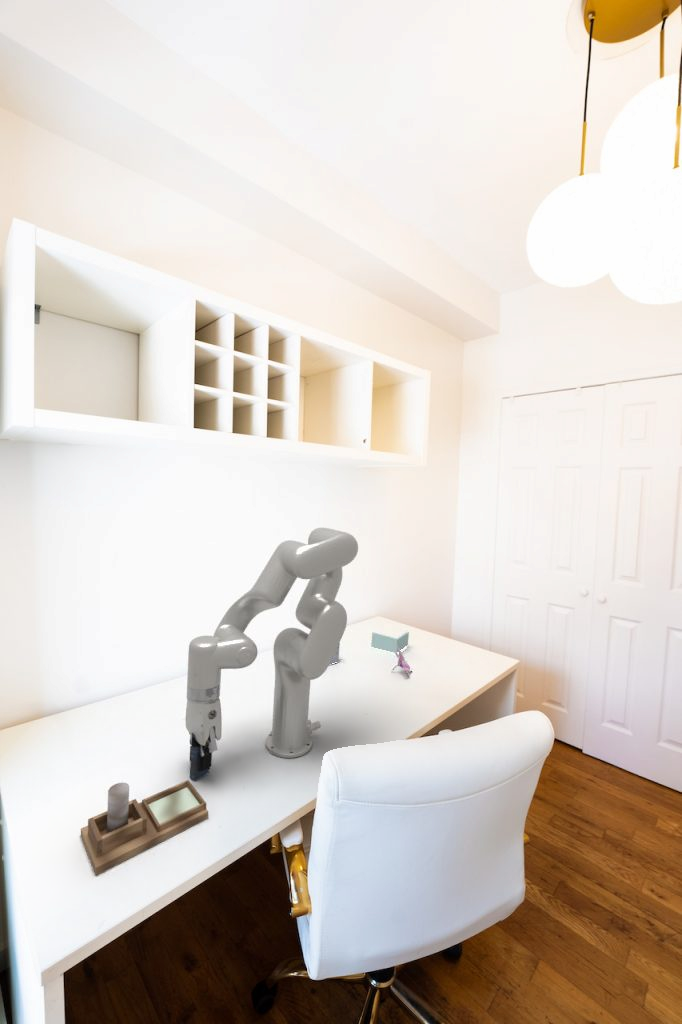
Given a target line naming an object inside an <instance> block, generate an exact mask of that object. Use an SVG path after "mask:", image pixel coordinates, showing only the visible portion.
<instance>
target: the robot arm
mask: <svg viewBox="0 0 682 1024" xmlns="http://www.w3.org/2000/svg"><path fill="white" fill-rule="evenodd" d="M358 552H359V545H358V541H357V540H356V538H355V537H354V535H352V534H351V533H349V532H346V531H341V530H336V529H333V528H329V527H317V528H314V529H313V530H312V531H311V532H310V533H309V534H308V538H307V543H304V542H301V541H296V540H292V539H291V540H285V541H283V542H281V543H280V544H278V545H277V547H276V548H275V550H274V551H273V553H272V555H271V557H270V558H269V560H268V561H267V563H266V565H265V566H264V568H263V569H262V571H261V573H260V575H259V576H258V578H257V580H256V581H255V582H254V585H253V586H252V587H251V588H250V589H249V590H248V591H247V592H245V593H244V594H242V595H241V597H240V598H238V599H237V600H236V601H235V602H234V603H232V605H231V606H230V607H229V608H228V610H227V611H226V612H225V614H224V615H223V617H222V618H221V621H220V622H219V623H218V625H217V627H216V629H215V631H214V634H213V635H200V636H196V637H194V638H193V639H192V640H191V641H190V642H189V645H188V654H187V655H188V656H187V658H188V659H187V678H186V679H187V681H186V682H187V683H186V700H187V701H186V709H185V710H186V711H185V728H186V730H187V732H188V734H189V745H190V746H189V762H190V761H191V743H192V733H193V734H194V735H195V739H196V741H197V742H198V743H199V744H200V754H199V755H198V772H201V771H203V770H206V769H208V768H210V769H211V767H212V762H213V761H212V760H213V759H212V757H213V752H216V751H218V743H217V741H220V740H222V729H223V728H222V726H223V725H222V721H223V718H222V706H221V700H220V696H221V683H222V681H221V680H222V679H221V678H222V670H227V669H228V670H230V669H232V670H234V669H235V670H237V669H243V668H247V667H249V666H251V665H252V664H253V663H254V662H255V660H256V659H257V656H258V647H257V644H256V643H255V642H254V640H252V638H251V637H249V636H248V635H247V634H245V631H246V630H247V628H248V627H249V624H250V623H251V622H252V621H253V619H254V618H256V616H258V615H259V614H261V613H263V612H265V611H268V610H271V609H275V608H279V607H280V606H282V605H283V602H284V601H285V599H286V597H287V596H288V594H289V593H290V590H291V589H292V587H293V586H294V584H295V582H296V580H297V578H298V579H301V580H309V581H308V582H307V584H306V586H305V589H304V590H303V592H302V595H301V597H300V599H299V601H298V603H297V606H296V608H295V617H296V620H297V621H298V622H299V623H300V624H301V625H302V626H304V627H306V628H307V629H309V630H310V631H309V633H307V632H306V631H304V630H302V629H299V628H297V627H288V628H285V629H282V630H281V631H280V632H279V633H278V634H277V635H276V638H275V640H274V643H273V660H274V661H273V662H274V691H273V708H272V709H273V710H272V726H271V727H272V728H271V731H270V733H268V735H267V736H266V738H265V748H266V749H267V751H268V752H269V753H271V754H272V755H274V756H276V757H279V758H283V759H284V758H285V759H287V758H288V759H292V758H293V759H294V758H298V757H301V756H304V755H305V754H307V753H308V752H310V750H311V748H312V747H313V738H312V736H311V734H312V733H313V731H317V730H319V729H320V728H321V721H320V720H316V721H315V722H312V721H311V719H309V711H310V710H309V709H310V707H309V706H310V695H311V694H310V693H311V692H310V691H311V681H312V680H313V681H314V680H316V679H318V678H320V677H322V675H323V674H324V673H325V672H326V671H327V669H328V668H329V666H330V665H329V664H330V662H331V660H332V658H333V656H334V654H335V651H336V649H337V647H338V645H339V643H340V642H341V640H342V637H344V633H345V631H346V628H347V625H348V624H347V623H348V614H347V610H346V609H345V607H344V605H343V604H341V603H340V602H339V601H337V600H336V598H337V595H338V593H339V590H340V588H341V585H342V582H343V567H345V566H348V565H349V564H351V563H352V561H354V560H355V558H356V557H357V555H358ZM208 743H209V746H208V747H206V748H205V749H204V746H205V745H206V744H208Z"/></svg>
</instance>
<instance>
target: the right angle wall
mask: <svg viewBox="0 0 682 1024" xmlns="http://www.w3.org/2000/svg"><path fill="white" fill-rule="evenodd" d="M409 636H410V633H409V631H406V632H404V633H403V634H401V635H399V636H398V637H394V636H390V635H386V634H382V633H379V632H376V631H373V632H372V634H371V643H370V644H371V647H374V648H378V649H382V650H386V651H390V652H394V653H397V652H399V650H398V647H399V649H400V650H401V649H403V648H404V647H405V646H407V645H408V646H409ZM397 646H398V647H397Z"/></svg>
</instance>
